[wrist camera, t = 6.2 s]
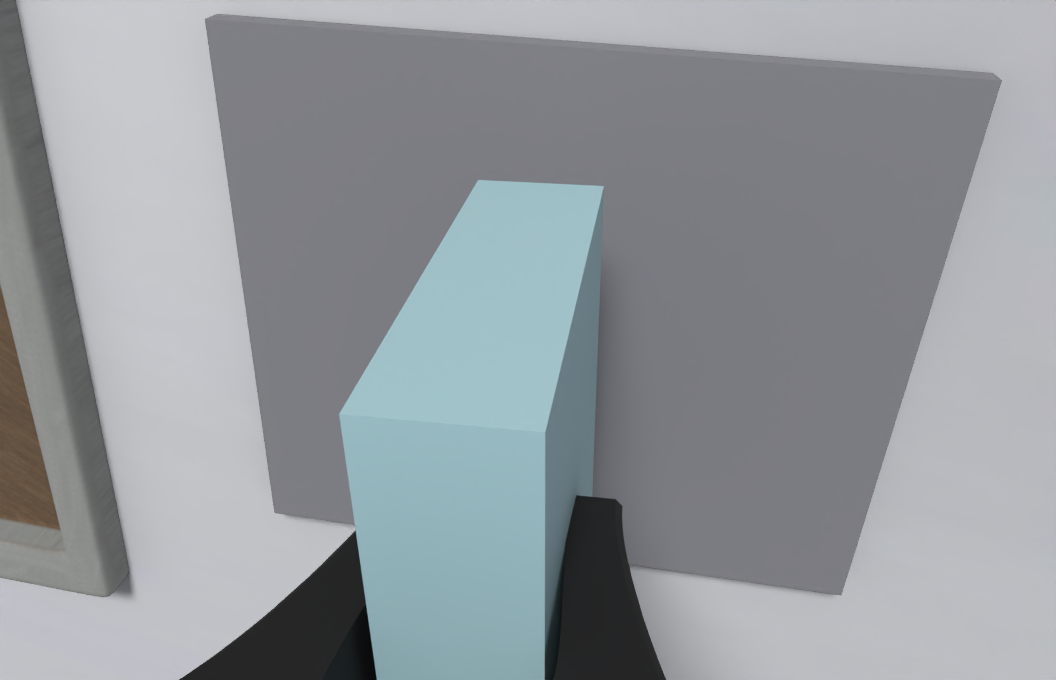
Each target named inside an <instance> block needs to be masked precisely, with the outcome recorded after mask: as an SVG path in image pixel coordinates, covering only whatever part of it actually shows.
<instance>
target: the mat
mask: <svg viewBox="0 0 1056 680" xmlns="http://www.w3.org/2000/svg"><path fill="white" fill-rule="evenodd" d="M205 23H206V30H207V37H208V44H209V51H210V58H211V65H212V72H213V79H214V87H215V94H216V101H217V108H218V115H219V122H220V129H221V136H222V143H223V150H224V158H225V165H226V172H227V179H228V186H229V193H230V200H231V207H232V214H233V221H234V228H235V236H236V243H237V250H238V257H239V264H240V271H241V278H242V285H243V292H244V299H245V307H246V314H247V321H248V328H249V335H250V342H251V349H252V356H253V363H254V370H255V378H256V385H257V392H258V399H259V406H260V413H261V420H262V427H263V434H264V441H265V449H266V456H267V463H268V470H269V477H270V484H271V491H272V498H273V505H274V512H275V513H278V514H285V515H292V516H299V517H306V518H313V519H320V520H326V521H333V522H340V523H347V524H354V525H355V522H354V515H353V508H352V501H351V494H350V487H349V480H348V473H347V466H346V459H345V452H344V445H343V438H342V431H341V424H340V417H339V413H340V412H341V410H342V408H343V407H344V405H345V403H346V402H347V400H348V398H349V397H350V395H351V393H352V392H353V390H354V388H355V387H356V385H357V383H358V381H359V380H360V378H361V376H362V375H363V373H364V371H365V370H366V368H367V366H368V365H369V363H370V361H371V360H372V358H373V356H374V355H375V353H376V351H377V349H378V348H379V346H380V344H381V343H382V341H383V339H384V338H385V336H386V334H387V333H388V331H389V329H390V328H391V326H392V324H393V323H394V321H395V319H396V318H397V316H398V314H399V312H400V311H401V309H402V307H403V306H404V304H405V302H406V301H407V299H408V297H409V296H410V294H411V292H412V291H413V289H414V287H415V286H416V284H417V282H418V281H419V279H420V277H421V275H422V274H423V272H424V270H425V269H426V267H427V265H428V264H429V262H430V260H431V259H432V257H433V255H434V254H435V252H436V250H437V249H438V247H439V245H440V243H441V242H442V240H443V238H444V237H445V235H446V233H447V232H448V230H449V228H450V227H451V225H452V223H453V222H454V220H455V218H456V217H457V215H458V213H459V212H460V210H461V208H462V206H463V205H464V203H465V201H466V200H467V198H468V196H469V195H470V193H471V191H472V190H473V188H474V186H475V185H476V183H477V181H478V180H490V181H510V182H531V183H551V184H572V185H592V186H604V200H603V226H602V252H601V279H600V305H599V331H598V358H597V384H596V410H595V437H594V463H593V490H592V497H600V498H610V499H616V500H617V501H618V502H619V503H620V504H621V505H622V506H623V508H622V526H623V536H624V542H625V549H626V554H627V559H628V564H629V565H636V566H643V567H649V568H656V569H663V570H670V571H677V572H684V573H691V574H698V575H704V576H711V577H718V578H725V579H732V580H739V581H746V582H753V583H759V584H766V585H773V586H780V587H787V588H794V589H801V590H808V591H814V592H821V593H828V594H835V595H841V594H842V591H843V588H844V585H845V582H846V578H847V575H848V572H849V569H850V566H851V562H852V559H853V556H854V553H855V550H856V546H857V543H858V540H859V537H860V533H861V530H862V527H863V524H864V521H865V517H866V514H867V511H868V508H869V505H870V501H871V498H872V495H873V492H874V489H875V485H876V482H877V479H878V476H879V473H880V469H881V466H882V463H883V460H884V456H885V453H886V450H887V447H888V444H889V440H890V437H891V434H892V431H893V428H894V424H895V421H896V418H897V415H898V412H899V408H900V405H901V402H902V399H903V396H904V392H905V389H906V386H907V383H908V380H909V376H910V373H911V370H912V367H913V363H914V360H915V357H916V354H917V351H918V347H919V344H920V341H921V338H922V335H923V331H924V328H925V325H926V322H927V319H928V315H929V312H930V309H931V306H932V303H933V299H934V296H935V293H936V290H937V287H938V283H939V280H940V277H941V274H942V270H943V267H944V264H945V261H946V258H947V254H948V251H949V248H950V245H951V242H952V238H953V235H954V232H955V229H956V226H957V222H958V219H959V216H960V213H961V210H962V206H963V203H964V200H965V197H966V193H967V190H968V187H969V184H970V181H971V177H972V174H973V171H974V168H975V165H976V161H977V158H978V155H979V152H980V149H981V145H982V142H983V139H984V136H985V133H986V129H987V126H988V123H989V120H990V117H991V113H992V110H993V107H994V104H995V100H996V97H997V94H998V91H999V88H1000V84H1001V81H1002V80H1001V79H999V78H998V77H997V76H996V75H994V74H993V73H983V72H970V71H957V70H944V69H931V68H918V67H904V66H891V65H878V64H865V63H852V62H839V61H826V60H813V59H800V58H786V57H773V56H760V55H747V54H734V53H721V52H708V51H695V50H682V49H668V48H655V47H642V46H629V45H616V44H603V43H590V42H577V41H563V40H550V39H537V38H524V37H511V36H498V35H485V34H472V33H459V32H445V31H432V30H419V29H406V28H393V27H380V26H367V25H354V24H341V23H327V22H314V21H301V20H288V19H275V18H262V17H249V16H236V15H223V14H217V15H214V16H211V17H209V18H206V19H205Z"/></svg>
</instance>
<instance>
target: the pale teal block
mask: <svg viewBox="0 0 1056 680" xmlns="http://www.w3.org/2000/svg"><path fill="white" fill-rule="evenodd" d="M603 200H604V186H592V185H572V184H551V183H531V182H510V181H490V180H478V181H477V183H476V185H475V186H474V188H473V190H472V191H471V193H470V195H469V196H468V198H467V200H466V201H465V203H464V205H463V206H462V208H461V210H460V212H459V213H458V215H457V217H456V218H455V220H454V222H453V223H452V225H451V227H450V228H449V230H448V232H447V233H446V235H445V237H444V238H443V240H442V242H441V243H440V245H439V247H438V249H437V250H436V252H435V254H434V255H433V257H432V259H431V260H430V262H429V264H428V265H427V267H426V269H425V270H424V272H423V274H422V275H421V277H420V279H419V281H418V282H417V284H416V286H415V287H414V289H413V291H412V292H411V294H410V296H409V297H408V299H407V301H406V302H405V304H404V306H403V307H402V309H401V311H400V312H399V314H398V316H397V318H396V319H395V321H394V323H393V324H392V326H391V328H390V329H389V331H388V333H387V334H386V336H385V338H384V339H383V341H382V343H381V344H380V346H379V348H378V349H377V351H376V353H375V355H374V356H373V358H372V360H371V361H370V363H369V365H368V366H367V368H366V370H365V371H364V373H363V375H362V376H361V378H360V380H359V381H358V383H357V385H356V387H355V388H354V390H353V392H352V393H351V395H350V397H349V398H348V400H347V402H346V403H345V405H344V407H343V408H342V410H341V412H340V413H339V417H340V424H341V431H342V438H343V445H344V452H345V459H346V466H347V473H348V480H349V487H350V494H351V501H352V508H353V515H354V522H355V529H356V536H357V543H358V550H359V557H360V565H361V572H362V579H363V586H364V593H365V600H366V607H367V614H368V621H369V628H370V635H371V642H372V649H373V656H374V663H375V670H376V677H377V680H554V675H555V669H556V664H557V659H558V652H559V643H560V634H561V617H562V598H563V579H564V561H565V543H566V538H567V533H568V529H569V524H570V520H571V515H572V511H573V507H574V503H575V499H576V495H579V496H589V497H592V490H593V463H594V437H595V410H596V384H597V358H598V331H599V305H600V279H601V252H602V226H603Z"/></svg>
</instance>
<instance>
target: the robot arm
mask: <svg viewBox="0 0 1056 680" xmlns="http://www.w3.org/2000/svg"><path fill="white" fill-rule="evenodd" d="M622 508H623V506H622V505H621V504H620V503H619V502H618V501H617V500H616V499H610V498H600V497H589V496H579V495H576V499H575V503H574V507H573V511H572V515H571V520H570V524H569V529H568V533H567V538H566V543H565V561H564V579H563V598H562V617H561V634H560V643H559V652H558V659H557V664H556V669H555V675H554V680H666V678H665V676H664V674H663V671H662V669H661V666H660V664H659V661H658V658H657V655H656V653H655V650H654V647H653V645H652V642H651V639H650V637H649V634H648V631H647V628H646V625H645V622H644V619H643V616H642V612H641V609H640V605H639V602H638V598H637V595H636V591H635V588H634V584H633V581H632V577H631V573H630V568H629V564H628V559H627V554H626V549H625V542H624V536H623V526H622ZM180 680H377V677H376V670H375V663H374V656H373V649H372V642H371V635H370V628H369V621H368V614H367V607H366V600H365V593H364V586H363V579H362V572H361V565H360V557H359V550H358V543H357V536H356V530H355V532H354V533H353V534H352V535H351V536H350V537H349V538H348V539H347V540H346V541H345V542H344V543H343V544H342V545H341V546H340V547H339V548H338V549H337V550H336V551H335V552H334V553H333V554H332V555H331V556H330V557H329V558H328V559H327V560H326V561H325V562H324V563H323V564H322V565H321V566H320V567H319V568H318V569H317V570H316V571H314V572H313V573H312V574H311V575H310V576H309V577H308V578H307V579H306V580H305V581H304V582H303V583H301V584H300V585H299V586H298V587H297V588H296V589H295V590H294V591H293V592H291V593H290V594H289V595H288V596H287V597H286V598H285V599H284V600H282V601H281V602H280V603H279V604H278V605H277V606H276V607H275V608H274V609H272V610H271V611H270V612H269V613H268V614H267V615H265V616H264V617H263V618H262V619H261V620H259V621H258V622H257V623H256V624H254V625H253V626H252V627H251V628H250V629H248V630H247V631H246V632H245V633H243V634H242V635H241V636H239V637H238V638H237V639H236V640H234V641H233V642H232V643H230V644H229V645H228V646H226V647H225V648H224V649H222V650H221V651H220V652H218V653H217V654H216V655H214V656H213V657H212V658H210V659H209V660H207V661H206V662H204V663H203V664H202V665H200V666H199V667H197V668H196V669H194V670H193V671H192V672H190V673H189V674H187V675H186V676H184V677H183V678H181V679H180Z"/></svg>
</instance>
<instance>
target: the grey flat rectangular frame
mask: <svg viewBox="0 0 1056 680" xmlns="http://www.w3.org/2000/svg"><path fill="white" fill-rule="evenodd" d="M128 573H129V568H128V562H127V556H126V551H125V546H124V541H123V536H122V531H121V526H120V521H119V516H118V511H117V506H116V501H115V496H114V491H113V486H112V481H111V476H110V471H109V466H108V461H107V456H106V451H105V446H104V441H103V436H102V431H101V426H100V421H99V416H98V411H97V406H96V401H95V396H94V391H93V386H92V381H91V376H90V371H89V366H88V361H87V356H86V351H85V346H84V341H83V336H82V331H81V326H80V321H79V316H78V311H77V306H76V301H75V296H74V291H73V286H72V281H71V276H70V270H69V265H68V260H67V255H66V250H65V245H64V240H63V235H62V230H61V225H60V220H59V215H58V210H57V205H56V200H55V195H54V190H53V185H52V180H51V175H50V170H49V165H48V160H47V155H46V150H45V145H44V140H43V135H42V130H41V125H40V120H39V115H38V110H37V105H36V100H35V95H34V90H33V85H32V80H31V75H30V70H29V65H28V60H27V55H26V50H25V45H24V40H23V35H22V30H21V25H20V20H19V15H18V10H17V5H16V0H0V577H1V578H6V579H11V580H16V581H21V582H26V583H31V584H36V585H41V586H46V587H51V588H56V589H62V590H67V591H72V592H77V593H82V594H87V595H93V596H99V597H107V596H110V595H111V594H112V593H113V592H114V591H115V590H116V589H117V588H118V587H119V585H120V584H121V583H122V581H123V580H124V579H125V577H126V576H127V575H128Z"/></svg>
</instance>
